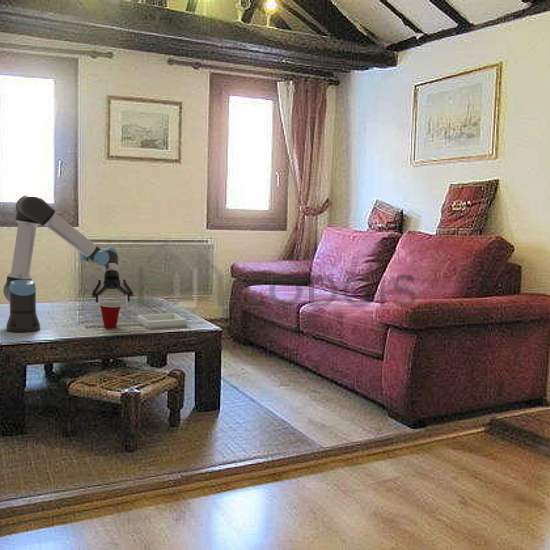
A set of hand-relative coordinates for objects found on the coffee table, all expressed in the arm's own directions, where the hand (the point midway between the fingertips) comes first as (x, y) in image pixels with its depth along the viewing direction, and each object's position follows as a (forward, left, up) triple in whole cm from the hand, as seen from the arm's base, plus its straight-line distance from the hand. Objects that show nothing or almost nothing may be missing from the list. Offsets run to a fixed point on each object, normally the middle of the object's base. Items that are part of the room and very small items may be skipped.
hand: (113, 307), depth 325 cm
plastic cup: (-2, -4, -10) cm, 11 cm away
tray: (+24, -4, -9) cm, 26 cm away
